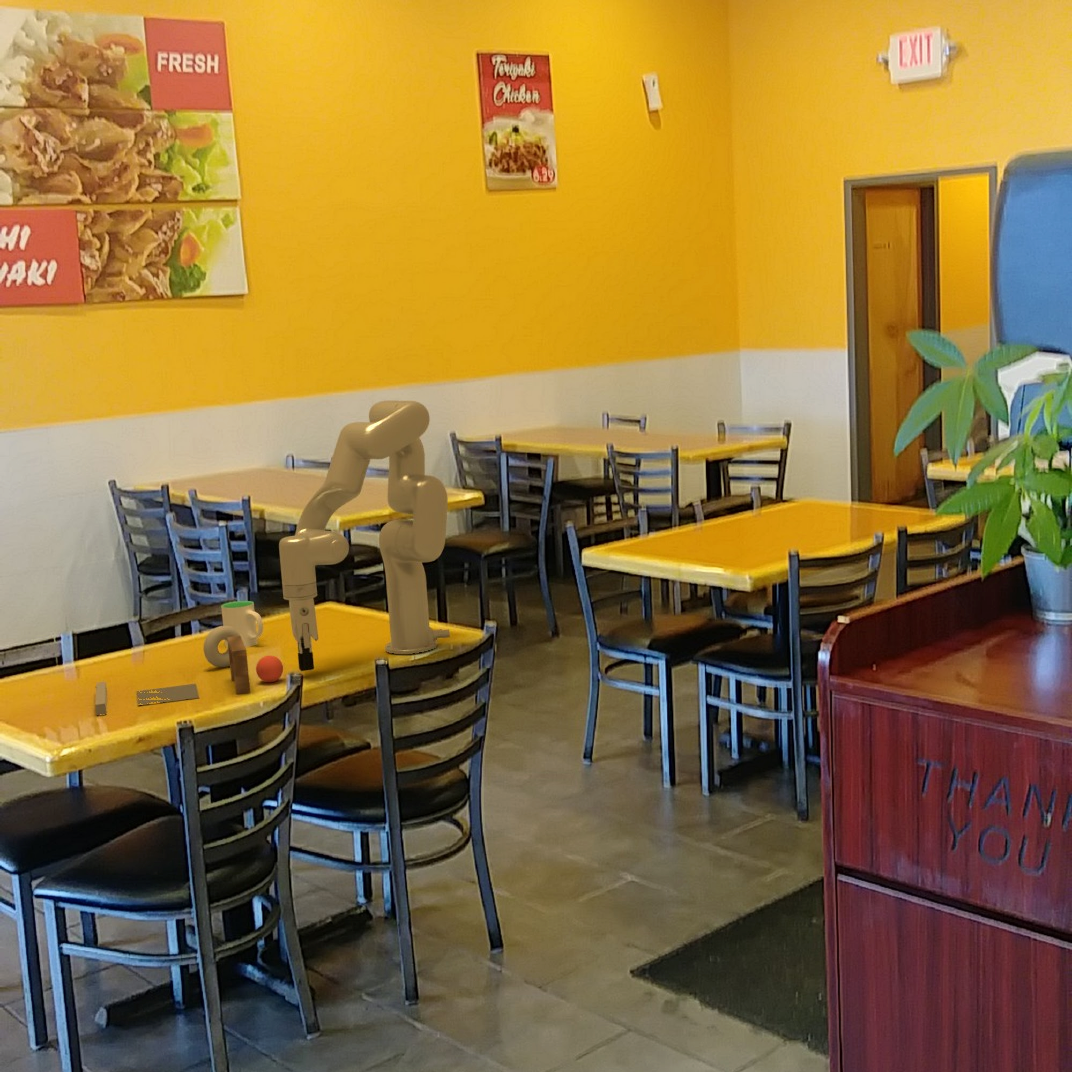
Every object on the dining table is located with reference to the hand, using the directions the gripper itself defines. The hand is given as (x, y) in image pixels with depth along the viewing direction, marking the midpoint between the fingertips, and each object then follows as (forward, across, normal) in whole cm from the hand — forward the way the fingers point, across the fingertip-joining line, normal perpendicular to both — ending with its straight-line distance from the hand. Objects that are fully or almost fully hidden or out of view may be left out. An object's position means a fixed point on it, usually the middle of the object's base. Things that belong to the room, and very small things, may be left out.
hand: (306, 669), depth 321 cm
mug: (+2, +41, +10) cm, 42 cm away
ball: (-1, 0, +8) cm, 8 cm away
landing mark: (+2, 0, +31) cm, 31 cm away
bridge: (+2, 0, +15) cm, 15 cm away
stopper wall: (+2, 0, +45) cm, 45 cm away
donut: (+2, +20, +17) cm, 26 cm away
